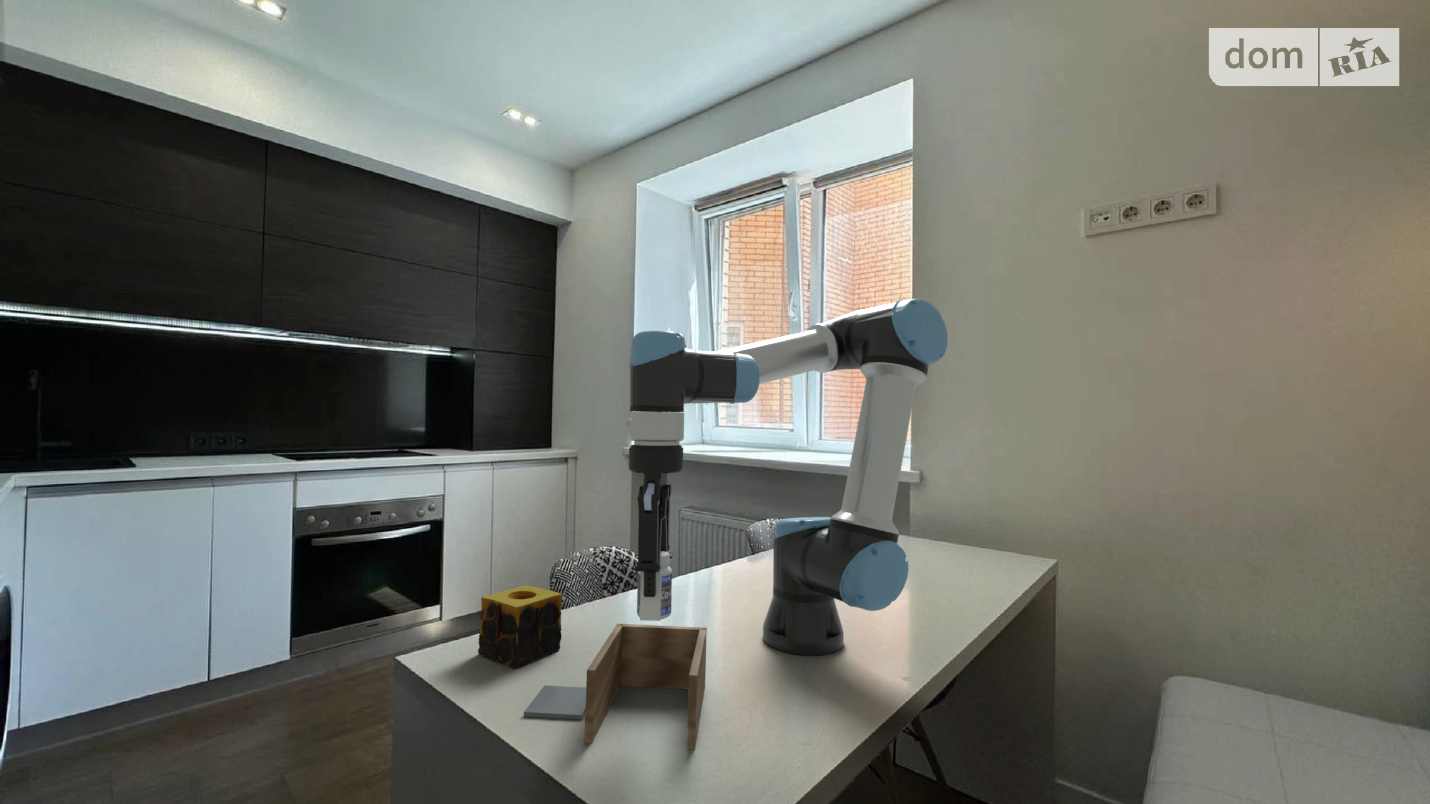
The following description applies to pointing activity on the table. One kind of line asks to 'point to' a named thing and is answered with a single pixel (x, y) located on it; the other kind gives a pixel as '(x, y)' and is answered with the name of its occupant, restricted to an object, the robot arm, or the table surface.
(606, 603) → the table surface
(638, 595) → the pill bottle
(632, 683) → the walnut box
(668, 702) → the table surface
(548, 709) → the slate coaster
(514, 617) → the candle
